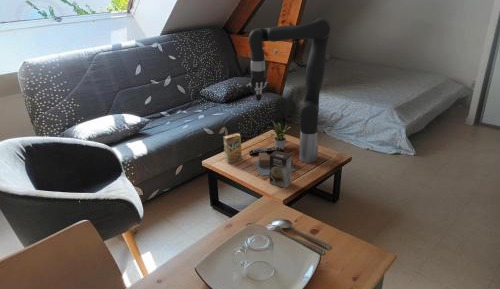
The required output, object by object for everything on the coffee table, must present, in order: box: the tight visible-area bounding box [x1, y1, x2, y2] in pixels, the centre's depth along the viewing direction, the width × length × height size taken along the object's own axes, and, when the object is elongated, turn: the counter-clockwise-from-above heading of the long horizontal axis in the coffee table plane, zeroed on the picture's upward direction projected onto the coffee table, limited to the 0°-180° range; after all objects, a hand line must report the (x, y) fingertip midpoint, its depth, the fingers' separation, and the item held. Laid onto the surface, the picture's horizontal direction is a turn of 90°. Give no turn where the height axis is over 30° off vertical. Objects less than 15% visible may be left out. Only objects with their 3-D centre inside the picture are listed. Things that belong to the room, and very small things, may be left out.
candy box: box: [223, 132, 243, 164], centre depth 200 cm, size 9×4×15 cm, turn 118°
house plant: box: [269, 121, 291, 150], centre depth 212 cm, size 14×14×16 cm
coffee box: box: [269, 150, 293, 189], centre depth 176 cm, size 9×6×16 cm
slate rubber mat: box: [253, 160, 296, 177], centre depth 195 cm, size 19×16×1 cm
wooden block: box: [258, 152, 294, 167], centre depth 196 cm, size 9×4×18 cm
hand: (258, 100), depth 194 cm, fingers closed
